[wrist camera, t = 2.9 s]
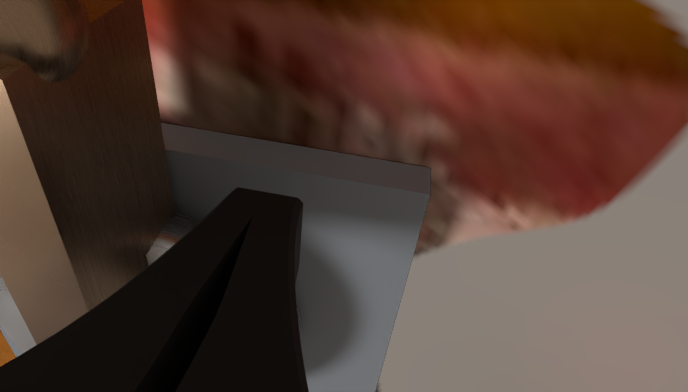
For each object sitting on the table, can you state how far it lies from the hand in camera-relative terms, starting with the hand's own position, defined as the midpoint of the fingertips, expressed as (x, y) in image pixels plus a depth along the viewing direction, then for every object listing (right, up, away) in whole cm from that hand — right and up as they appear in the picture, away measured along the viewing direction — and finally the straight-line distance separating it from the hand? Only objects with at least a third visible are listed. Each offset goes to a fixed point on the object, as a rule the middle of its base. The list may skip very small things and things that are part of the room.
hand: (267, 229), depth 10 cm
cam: (-3, 0, +2) cm, 4 cm away
